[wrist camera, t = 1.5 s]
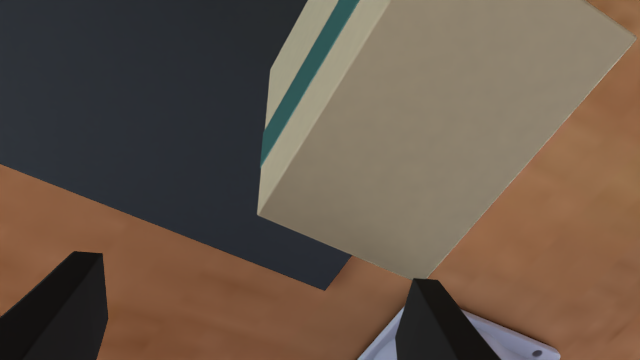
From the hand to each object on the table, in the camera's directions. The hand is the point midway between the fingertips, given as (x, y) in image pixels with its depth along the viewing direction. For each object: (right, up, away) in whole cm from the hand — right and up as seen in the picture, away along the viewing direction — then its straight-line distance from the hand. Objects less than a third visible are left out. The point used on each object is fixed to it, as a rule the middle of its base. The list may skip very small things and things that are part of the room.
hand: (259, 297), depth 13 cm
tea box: (+3, +8, +6) cm, 11 cm away
